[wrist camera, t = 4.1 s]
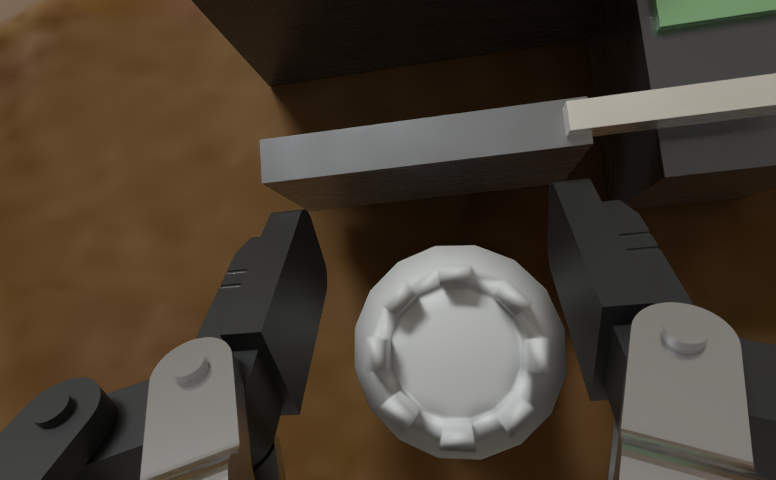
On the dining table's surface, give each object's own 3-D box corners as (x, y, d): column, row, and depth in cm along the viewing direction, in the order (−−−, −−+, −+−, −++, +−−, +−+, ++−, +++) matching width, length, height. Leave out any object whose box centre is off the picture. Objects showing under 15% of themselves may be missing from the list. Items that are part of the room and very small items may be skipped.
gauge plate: (309, 211, 14) (254, 179, 11) (307, 177, 15) (252, 133, 11) (724, 165, 13) (829, 108, 9) (717, 127, 13) (818, 56, 9)
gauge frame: (277, 245, 16) (164, 211, 10) (265, 1, 17) (158, -159, 11) (744, 198, 14) (946, 121, 8) (695, -73, 15) (841, -316, 9)
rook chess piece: (480, 222, 15) (494, 132, 7) (574, 350, 14) (707, 409, 6) (357, 306, 15) (241, 309, 7) (442, 438, 14) (412, 600, 7)
